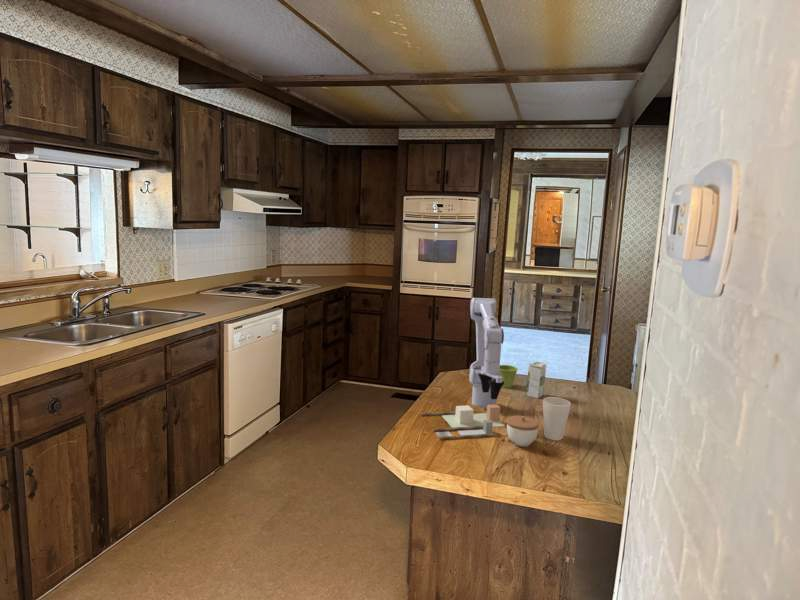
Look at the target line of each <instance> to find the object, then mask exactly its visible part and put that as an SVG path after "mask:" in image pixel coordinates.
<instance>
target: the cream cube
mask: <svg viewBox="0 0 800 600" xmlns="http://www.w3.org/2000/svg"><path fill="white" fill-rule="evenodd" d="M455 412H456V413H455V414H454V415H455V419H456V420H457V421H458V423H459V424H468V423H473V414H474V413H475V411H474V408H473V407H471V406H470V405H466V404H465V405H455ZM473 412H474V413H473Z"/></svg>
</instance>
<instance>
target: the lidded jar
mask: <svg viewBox="0 0 800 600" xmlns="http://www.w3.org/2000/svg"><path fill="white" fill-rule="evenodd" d="M539 427H540V422H539V421H538V420H537V419H535V418H533V417H530V416H527V415H526V416H525V415H513V416H509V417H508V418H507V419H506V433H507V437H508V438H509V440H510V441H511V443H512V444H513V445H515V446H518V447H529V446H530V445H531V444H532V443H534V442H535V441H536V439H537V437H538V433H539Z"/></svg>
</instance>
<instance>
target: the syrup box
mask: <svg viewBox="0 0 800 600" xmlns="http://www.w3.org/2000/svg"><path fill="white" fill-rule="evenodd" d="M546 370H547V363H544V362H540V361H535V360H534V361H533V362H531V363H528V372H527V382H526V390H525V391H526V392H525V396H526V397H530V398H535V399H539V398H541V397H543V395H544V389H545V383H546Z"/></svg>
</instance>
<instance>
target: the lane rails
mask: <svg viewBox="0 0 800 600" xmlns="http://www.w3.org/2000/svg"><path fill="white" fill-rule="evenodd" d="M455 413H456V411H438V412H437V411H436V412H421V413H420V416H421V417H431V416H441V415H455ZM473 414H475V411H474V412H473ZM481 429H483V426H471V427H454V428H452V427H443V428H441V427H440V428H432V432H433V433H435V434H436V435H437V437H438V440H439V441H445V440H446V441H447V440H450V441H451V440H459V439H460V440H463V439H464V440H465V439H477V438H478V439H479V438H480V439H481V438H493V437H494V438H495V437H498V436H499V435H498V433H496V432H492V433H491V434H476V435H460V434H459V435H452V434H451V432H452V431H453V432H455V431H465V430H481Z"/></svg>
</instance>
